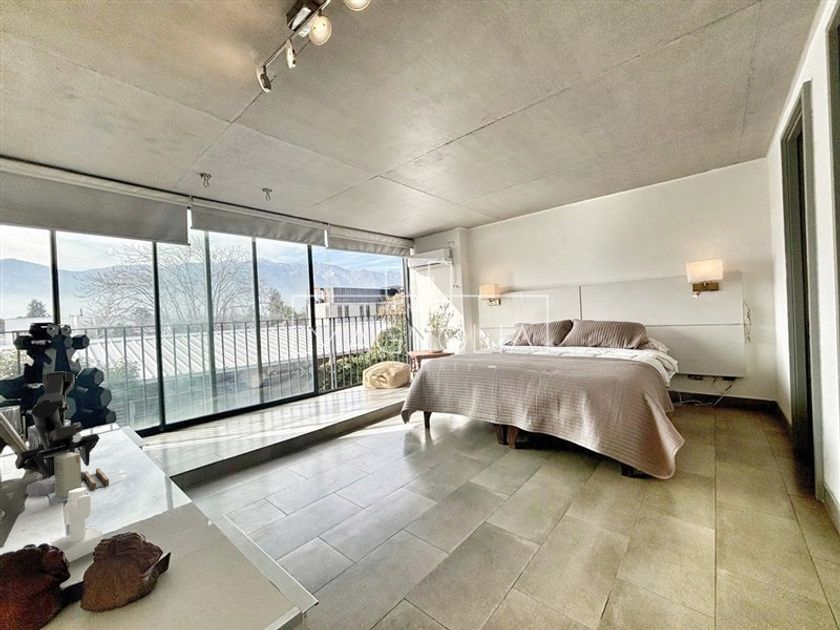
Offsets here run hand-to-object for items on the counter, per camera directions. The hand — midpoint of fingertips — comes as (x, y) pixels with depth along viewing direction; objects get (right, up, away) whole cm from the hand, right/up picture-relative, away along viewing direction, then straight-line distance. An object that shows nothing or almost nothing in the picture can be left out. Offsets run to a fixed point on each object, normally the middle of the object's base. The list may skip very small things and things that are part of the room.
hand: (69, 470), depth 111 cm
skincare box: (-1, -8, 0) cm, 8 cm away
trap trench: (-1, -8, +10) cm, 13 cm away
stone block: (-12, -9, +7) cm, 16 cm away
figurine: (+32, -6, -30) cm, 44 cm away
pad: (-1, -8, 0) cm, 8 cm away
